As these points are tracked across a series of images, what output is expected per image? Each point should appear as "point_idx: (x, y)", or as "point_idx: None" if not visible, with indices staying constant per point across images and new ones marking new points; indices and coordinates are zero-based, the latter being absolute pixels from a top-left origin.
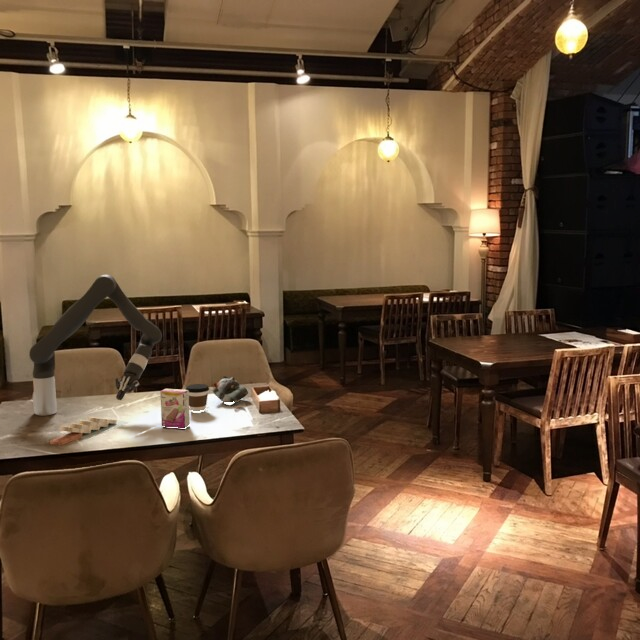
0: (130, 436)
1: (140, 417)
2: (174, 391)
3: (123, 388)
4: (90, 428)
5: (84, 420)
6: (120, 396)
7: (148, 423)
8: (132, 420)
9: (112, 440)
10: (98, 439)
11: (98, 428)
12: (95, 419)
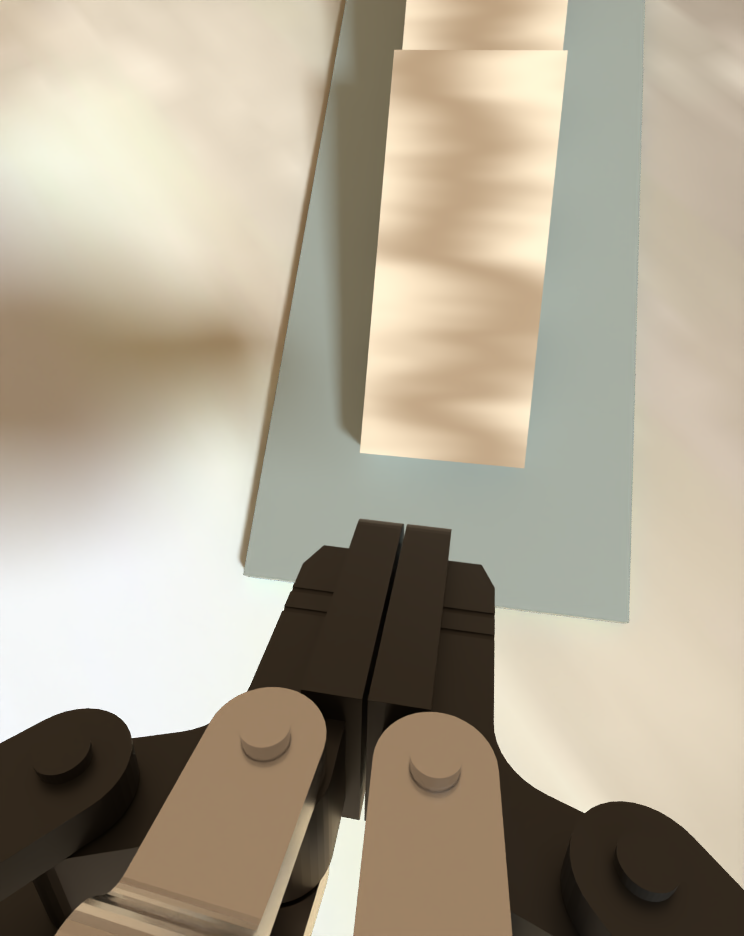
0: (15, 208)
1: None
2: None
3: (254, 782)
4: None
5: (553, 5)
6: (327, 565)
7: (18, 660)
8: None
9: (122, 70)
10: (261, 44)
11: None
12: (422, 59)
